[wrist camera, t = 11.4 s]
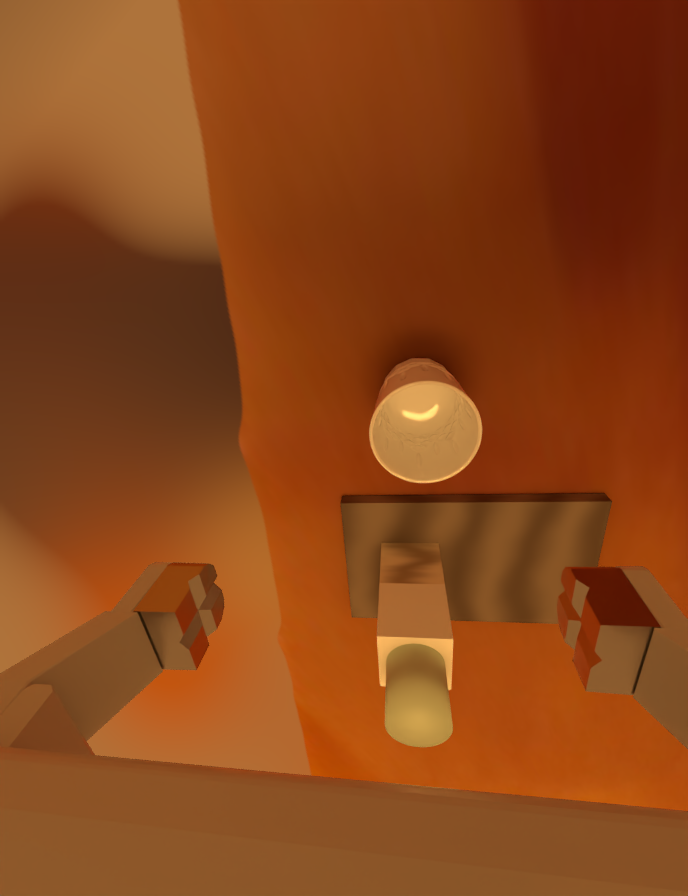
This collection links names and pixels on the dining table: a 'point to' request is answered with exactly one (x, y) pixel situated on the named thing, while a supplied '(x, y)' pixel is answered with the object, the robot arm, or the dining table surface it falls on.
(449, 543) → the walnut board
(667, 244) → the dining table surface
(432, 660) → the green cylinder
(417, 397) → the white cup
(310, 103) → the dining table surface
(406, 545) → the tower base block
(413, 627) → the tower top block
